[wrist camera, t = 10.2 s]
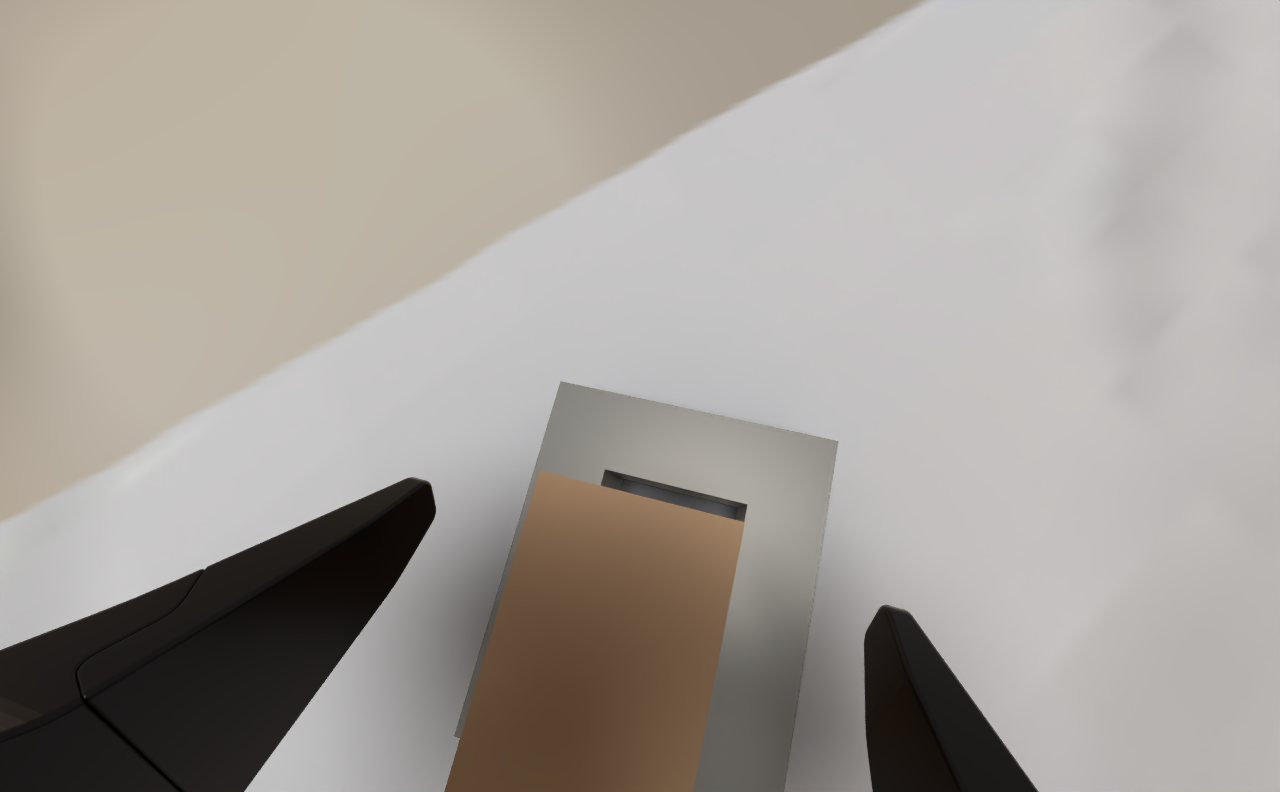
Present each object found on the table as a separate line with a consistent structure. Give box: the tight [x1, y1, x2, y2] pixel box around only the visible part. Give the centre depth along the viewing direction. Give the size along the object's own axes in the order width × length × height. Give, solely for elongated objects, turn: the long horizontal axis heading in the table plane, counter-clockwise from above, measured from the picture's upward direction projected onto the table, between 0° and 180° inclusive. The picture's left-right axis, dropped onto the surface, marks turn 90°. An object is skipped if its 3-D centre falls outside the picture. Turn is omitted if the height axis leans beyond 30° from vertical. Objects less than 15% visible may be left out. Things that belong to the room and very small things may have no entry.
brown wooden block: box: [445, 470, 745, 792], centre depth 13 cm, size 5×4×12 cm
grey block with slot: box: [455, 382, 838, 792], centre depth 17 cm, size 12×10×4 cm
